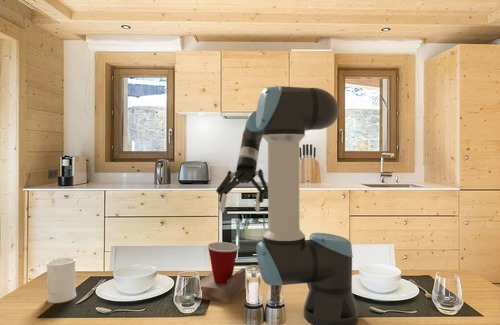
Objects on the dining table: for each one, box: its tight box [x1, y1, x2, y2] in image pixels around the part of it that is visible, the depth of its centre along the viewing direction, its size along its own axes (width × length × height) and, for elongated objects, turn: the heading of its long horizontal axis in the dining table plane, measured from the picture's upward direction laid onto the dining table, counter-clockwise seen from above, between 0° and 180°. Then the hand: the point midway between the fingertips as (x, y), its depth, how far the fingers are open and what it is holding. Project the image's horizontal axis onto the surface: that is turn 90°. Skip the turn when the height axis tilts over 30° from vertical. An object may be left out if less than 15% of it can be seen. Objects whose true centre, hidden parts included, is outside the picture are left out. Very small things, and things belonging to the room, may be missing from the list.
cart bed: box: [199, 267, 246, 304], centre depth 121 cm, size 13×13×7 cm
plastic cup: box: [206, 241, 240, 284], centre depth 121 cm, size 11×11×12 cm
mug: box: [46, 257, 77, 304], centre depth 116 cm, size 12×8×12 cm
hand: (239, 210), depth 130 cm, fingers open, 13 cm apart
